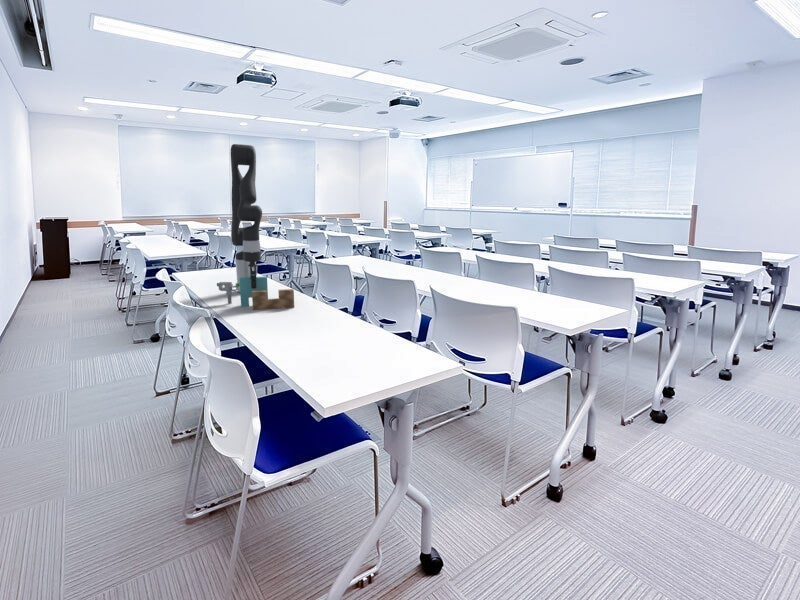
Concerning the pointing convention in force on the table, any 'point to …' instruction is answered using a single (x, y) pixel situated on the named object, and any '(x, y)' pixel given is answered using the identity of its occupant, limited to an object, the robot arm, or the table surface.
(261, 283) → the teal notched block
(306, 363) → the table surface
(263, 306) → the walnut slotted plate
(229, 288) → the mechanical component
